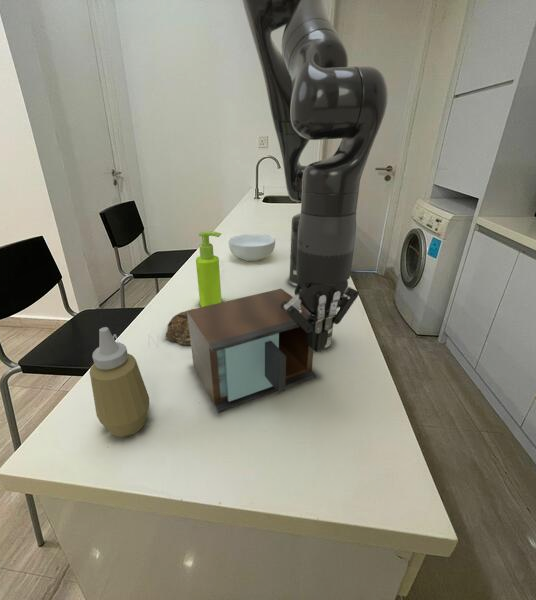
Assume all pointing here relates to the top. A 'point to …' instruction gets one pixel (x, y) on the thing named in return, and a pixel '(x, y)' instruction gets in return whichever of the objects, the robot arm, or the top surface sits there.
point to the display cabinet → (243, 328)
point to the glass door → (255, 367)
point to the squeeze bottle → (118, 387)
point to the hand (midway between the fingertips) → (316, 347)
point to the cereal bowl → (252, 246)
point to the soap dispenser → (208, 272)
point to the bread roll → (179, 329)
